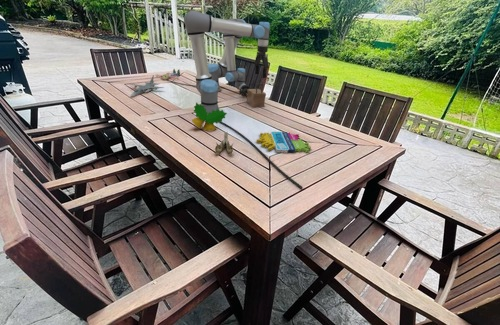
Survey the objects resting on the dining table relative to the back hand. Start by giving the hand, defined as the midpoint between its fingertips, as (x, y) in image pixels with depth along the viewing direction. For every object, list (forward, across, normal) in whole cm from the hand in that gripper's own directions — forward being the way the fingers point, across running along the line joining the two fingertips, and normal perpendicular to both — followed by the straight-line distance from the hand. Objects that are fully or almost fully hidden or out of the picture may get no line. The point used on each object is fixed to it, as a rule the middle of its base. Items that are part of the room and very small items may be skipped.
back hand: (253, 95), depth 217 cm
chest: (+5, +1, -6) cm, 8 cm away
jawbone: (+80, +52, -6) cm, 95 cm away
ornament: (+47, +51, -6) cm, 70 cm away
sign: (+78, +16, -6) cm, 80 cm away
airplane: (-49, +82, -6) cm, 96 cm away
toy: (-104, +53, -6) cm, 117 cm away
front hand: (+11, +1, +18) cm, 20 cm away
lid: (+6, +1, +3) cm, 7 cm away
